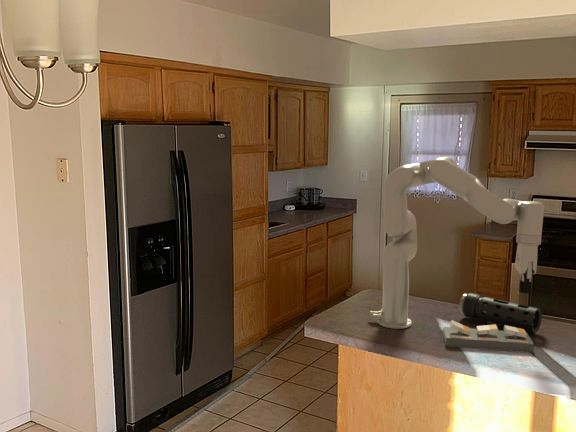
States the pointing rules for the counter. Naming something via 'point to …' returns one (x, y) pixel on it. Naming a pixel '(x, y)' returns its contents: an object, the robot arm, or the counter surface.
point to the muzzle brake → (500, 312)
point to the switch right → (515, 331)
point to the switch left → (460, 327)
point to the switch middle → (487, 329)
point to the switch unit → (487, 340)
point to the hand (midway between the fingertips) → (524, 292)
